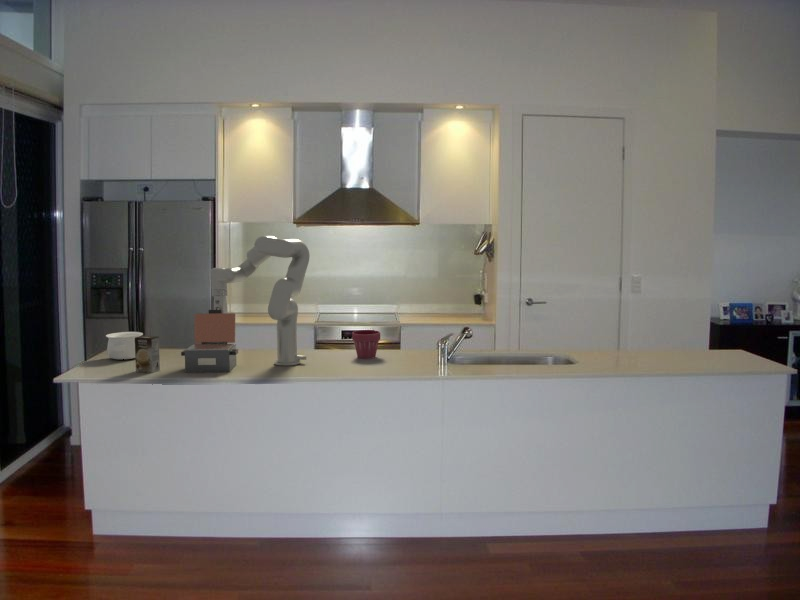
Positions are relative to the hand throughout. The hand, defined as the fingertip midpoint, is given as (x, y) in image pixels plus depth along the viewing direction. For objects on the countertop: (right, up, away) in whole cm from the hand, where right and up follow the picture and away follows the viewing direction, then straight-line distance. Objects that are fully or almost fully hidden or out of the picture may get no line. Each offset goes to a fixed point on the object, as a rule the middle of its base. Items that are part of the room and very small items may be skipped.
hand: (220, 329), depth 346 cm
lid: (+1, +2, -13) cm, 14 cm away
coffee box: (-27, -18, -25) cm, 41 cm away
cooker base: (+1, -17, -20) cm, 27 cm away
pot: (-50, -15, +6) cm, 52 cm away
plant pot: (+72, -14, +6) cm, 74 cm away
